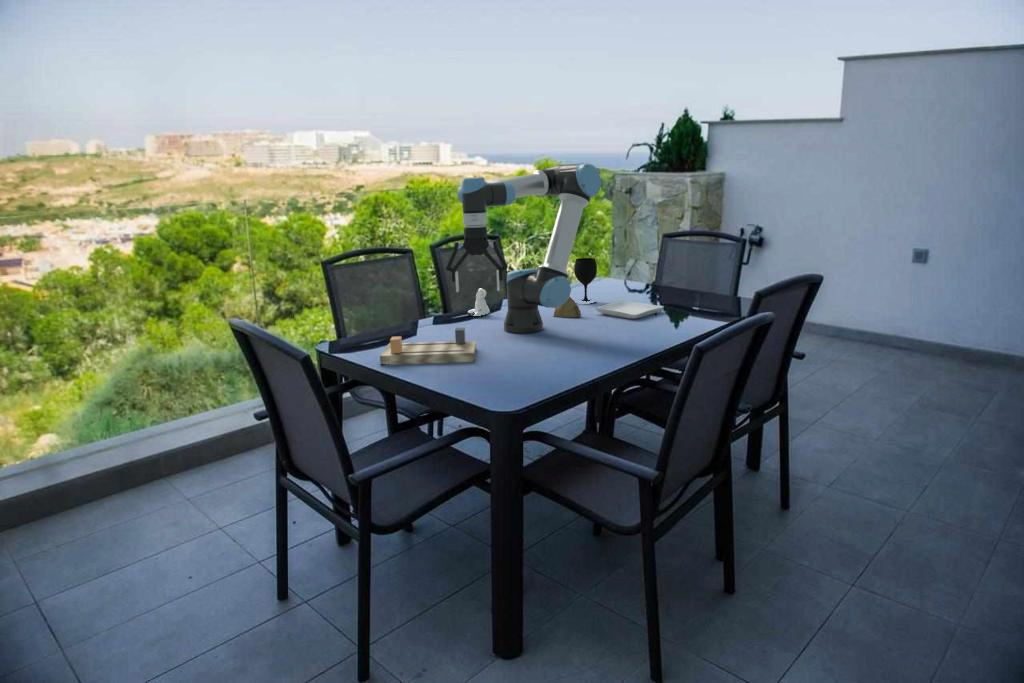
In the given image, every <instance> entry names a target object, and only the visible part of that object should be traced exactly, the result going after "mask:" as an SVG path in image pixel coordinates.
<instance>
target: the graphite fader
mask: <svg viewBox="0 0 1024 683" xmlns="http://www.w3.org/2000/svg"><path fill="white" fill-rule="evenodd" d="M454 334H455V335H454V336H455V341H456V343H465V341H466V328H465V327H455V329H454Z"/></svg>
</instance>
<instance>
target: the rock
mask: <svg viewBox="0 0 1024 683" xmlns="http://www.w3.org/2000/svg"><path fill="white" fill-rule="evenodd" d="M575 301H576V300H574V299H573V298H572V297H571V295H570V296H569V298H568V300H567V301H566V303H565V304H563V305H562V306H560V307H558V308H554V312H553V315H552V317H553V316H558V317H557V318H580V317H582V313H581V310H580V308H579V304H576V303H575Z"/></svg>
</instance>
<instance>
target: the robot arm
mask: <svg viewBox="0 0 1024 683" xmlns="http://www.w3.org/2000/svg"><path fill="white" fill-rule="evenodd" d="M601 187H602V177H601V175H600V172H599V170H598V169H597V167H596V166H595V165H593V164H591V163H584V162H581V163H573V164H572V163H571V164H568V163H567V164H557V165H554V166H550V167H545V168H542V169H537V170H534V171H533V172H532V173H529V174H525V175H524V174H523V175H518V176H511V177H505V178H499V179H492V180H485V178H484V177H482V176H479V177H464V178H462V180H461V185H460V186H459V188H458V190H457V198H458V200H459V203H461V205H462V220H463V226H464V228H463V239H464V240H463V242H459V241H455V243H454V249H453V251H452V254H451V256H450V258H449V260H448V263H447V265H446V268H445V270H446V271H449V272H451V277H452V278H451V279H452V280H451V281H452V283H455V292H456V293H459V292H460V283H459V271H457V270H458V269H459V267H460V265H461V264H462V263H463V262H464V261H465V260H466V259H467V257H468V255H470V256H475V255H476V256H481V255H484V256H485V257H486V258H487V259H488V260H489V261H490V262H491V263H492V264H493V266H495V268H496V290H497V292H501V291H500V290H501V289H500V285H501V284H500V281H503V278H504V277H503V276H504V275H503V271H504V270H506V269H508V267H509V266H508V264H507V262H506V260H505V258H504V257H503V254H502V253H501V250H500V249H499V247H498V241H497V240H493V241H489V240H488V227H487V226H486V225H487V224H488V223H487V208H488V207H506V206H510V205H513V203H514V202H515V200H516V199H519V198H523V197H529V196H535V195H536V196H538V197H544V196H555V197H558V198H559V200H560V204H559V208H558V210H557V211H558V212H557V215H556V217H555V221H554V226H553V229H552V232H551V236H550V239H549V242H548V246H547V250H546V252H545V257H544V260H543V263H542V264H540V265H539V266H537V268H525V269H516V270H511V271H508V272H507V275H506V281H505V282H506V295H507V297H506V298H507V299H506V300H507V312H506V315H505V318H504V322H503V329H504V330H503V331H505V332H507V333H514V334H528V333H529V334H530V333H536V332H540V331H542V330H544V322H543V320H542V316H541V313H540V311H539V306H540V307H544V308H549V309H550V308H552V309H555V308H558V307H560V306H562V305H563V304H565V303H566V301H567V300H568V298H569V296H570V297H571V292H572V287H571V281H570V280H569V279H568V278H569V273H568V271H567V268H568V264H569V259H570V257H571V253H572V250H573V246H574V243H575V240H576V236H577V232H578V229H579V226H580V221H581V218H582V214H583V211H584V208H585V207H587V206H589V204H590V201H591V198H592V197H595V196H596V195H598V194H599V193H600V191H601ZM489 246H490V247H491V248H492V249H493V250H494V252H495V253H496V256H497V257H498V259H499V261H500V263H501V264H502V265H500V263H499V262H498V261H497V260H496V259H495V258H494V256H492V255H491V253H490V252H489V251H488V248H489ZM462 247H463V248H464V249H465V252H464V253H463V255H461V257H460V259H458V261H457V262H456V264H454V265H453V263H454V261H455V259H456V256H457V254H458V252H459V250H460V249H461V248H462ZM452 266H453V267H452Z"/></svg>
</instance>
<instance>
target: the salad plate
mask: <svg viewBox="0 0 1024 683" xmlns="http://www.w3.org/2000/svg"><path fill="white" fill-rule="evenodd" d="M664 308H665V307H664V305H658V304H657V305H656V304H650V303H644V302H636V301H630V300H620V301H616V302H611V303H607V304H604V305H600V306H595V307H594V309H595V310H596V311H597V312H598V313H600V314H603V315H606V316H610V317H616V318H623V319H629V320H636V319H640V318H644V317H646V316H651V315H653V314H656V313H659V312H661V311H662V310H663V309H664Z"/></svg>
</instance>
